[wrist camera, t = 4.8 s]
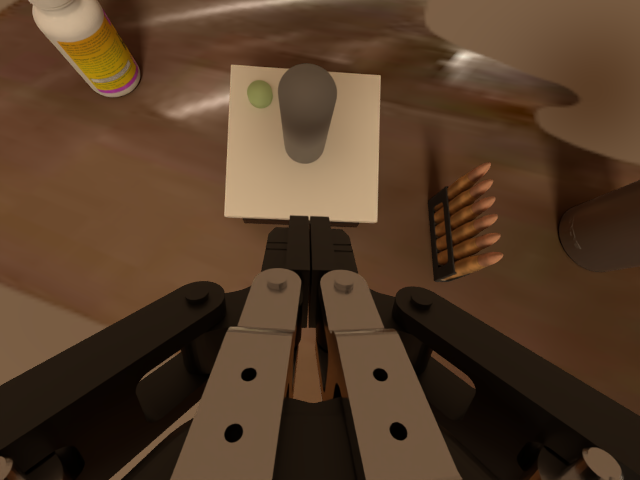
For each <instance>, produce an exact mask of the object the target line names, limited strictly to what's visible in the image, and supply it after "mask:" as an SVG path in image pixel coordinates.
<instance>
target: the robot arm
mask: <svg viewBox="0 0 640 480" xmlns="http://www.w3.org/2000/svg"><path fill="white" fill-rule="evenodd" d="M559 236H560V240H561V243H562V245H563V248H564V250H565V251H566V253H567V254H568V255H569V257H570V258H571V259H572V260H573V261H574V262H576V263H577V264H578V265H580V266H581V267H583V268H585V269H588V270H591V271H595V272H606V271H612V270H619V269H625V268H631V267H639V266H640V180H638V181H636V182H634V183H631V184H629V185H626V186H624V187H621V188H619V189H616V190H614V191H611V192H609V193H607V194H604V195H602V196H599V197H597V198H594V199H592V200H589V201H587V202H584V203H582V204H580V205H577V206H575V207H573V208H570V209H569V210H568V211H567V212H565V214H564V215H563V217H562V219H561V221H560V225H559ZM308 310H309V328H316V342H315V352H316V359H317V367H318V375H319V382H320V390H321V398H322V402H318V403H308V402H304V401H300V400H296V399H293V393H294V384H295V375H296V366H297V358H298V348H299V342H300V340H301V328H307V315H308ZM180 349H181V353H179V354H178V355H176V356H175V357H174V358H172V359H171V360H169V361H168V362H167V363H165V364H164V365H162V366H161V367H159V368H158V369H157V370H155V371H154V372H153V373H151V374H150V375H148V376H147V377H145V378H144V379H143V380H141V378H142V377H143V376H144V375H145V374H146V373H148V372H149V371H150V370H152V369H153V368H155V367H156V366H157V365H159V364H160V363H162V362H163V361H165V360H166V359H167V358H169V357H170V356H172V355H173V354H175V353H176V352H177V351H179V350H180ZM433 350H434V351H435V352H436V353H438V354H439V355H440V356H442V357H443V358H445V359H446V360H447V361H449V362H450V363H451V364H453V365H454V366H455V367H457V368H458V369H459V370H461V371H462V372H464V373H465V374H466V375H467V376H468V377H469V378H470V379H471V380H472V381H473V383H474V385H475V388H476V389H474V388H472V387H471V386H470V385H468V384H467V383H466V382H464V381H463V380H462V379H460V378H459V377H458V376H456V375H455V374H454V373H452V372H451V371H450V370H448V369H447V368H446V367H444V366H443V365H442V364H440V363H439V362H438V361H436V360H435V359H434V358H432V357H431V353H432V351H433ZM140 380H141V381H140ZM139 381H140V382H139ZM200 399H201V401H200V403H199V406H198V408H197V411H196V414H195V416H194V418H192V419H191V420H189V421H188V422H186V423H184V424H183V425H181V426H180V427H179V428H177V429H176V430H175V431H173V432H172V433H171V434H169V435H168V436H167V437H166V438H165V439H164V440H163V441H162V442H161V443H159V444H158V445H157V446H156V447H155V448H154V449H153V450H152V451H151V452H150V453H149V454H148V455H147V456H146V457H145V458H143V459H142V461H140V462H139V463H138V464H137V465H136V466H135V467H134V468H133V469H132V470H131V471H130V472H129V473H128V474H127V475H126V476H124V477H123V478H122V479H121V480H640V416H639V415H637V414H635V413H634V412H632V411H630V410H629V409H627V408H625V407H624V406H622V405H620V404H619V403H617V402H615V401H614V400H612V399H610V398H609V397H607V396H605V395H604V394H602V393H600V392H599V391H597V390H595V389H594V388H592V387H590V386H589V385H587V384H585V383H584V382H582V381H580V380H579V379H577V378H575V377H574V376H572V375H570V374H569V373H567V372H565V371H564V370H562V369H560V368H559V367H557V366H555V365H554V364H552V363H550V362H549V361H547V360H545V359H544V358H542V357H540V356H539V355H537V354H535V353H534V352H532V351H530V350H529V349H527V348H525V347H524V346H522V345H520V344H519V343H517V342H515V341H514V340H512V339H510V338H509V337H507V336H505V335H504V334H502V333H500V332H499V331H497V330H495V329H494V328H492V327H490V326H489V325H487V324H485V323H484V322H482V321H480V320H479V319H477V318H475V317H474V316H472V315H470V314H469V313H467V312H465V311H464V310H462V309H460V308H459V307H457V306H455V305H454V304H452V303H450V302H449V301H447V300H445V299H444V298H442V297H440V296H439V295H437V294H435V293H434V292H432V291H430V290H427V289H424V288H421V287H405V288H402V289H400V290H399V291H398V292H397V294H396V297H393V296H389V295H385V294H381V293H378V292H375V291H373V290H371V289H369V288H368V285H367V283H366V281H365V279H364V278H363V277H362V276H360V275H359V274H358V271H357V267H356V263H355V258H354V254H353V250H352V246H351V242H350V238H349V236H348V235H347V234H346V233H345V232H344V231H343V230H340V229H331V227H330V220H329V217H324V216H310V225H309V216H296V215H290V220H289V228H281V227H275V228H274V229H273V230H272V231H271V232H270V233H269V235H268V240H267V245H266V250H265V255H264V260H263V265H262V270H261V273H259V274H258V275H257V276H256V277H255V278H254V280H253V283H252V285H251V286H250V287H248V288H246V289H243V290H239V291H235V292H230V293H224V290H223V288H222V287H221V286H220V285H218V284H216V283H213V282H208V281H199V282H193V283H190V284H187V285H184V286H182V287H180V288H179V289H177V290H175V291H173V292H171V293H169V294H168V295H166V296H164V297H162V298H160V299H158V300H157V301H155V302H153V303H151V304H149V305H147V306H146V307H144V308H142V309H140V310H138V311H136V312H135V313H133V314H131V315H129V316H127V317H125V318H124V319H122V320H120V321H118V322H116V323H114V324H113V325H111V326H109V327H107V328H105V329H103V330H102V331H100V332H98V333H96V334H94V335H92V336H91V337H89V338H87V339H85V340H83V341H81V342H80V343H78V344H76V345H74V346H72V347H70V348H68V349H67V350H65V351H63V352H61V353H59V354H58V355H56V356H54V357H52V358H50V359H48V360H46V361H45V362H43V363H41V364H39V365H37V366H35V367H34V368H32V369H30V370H28V371H26V372H24V373H23V374H21V375H19V376H17V377H15V378H13V379H12V380H10V381H8V382H6V383H4V384H3V385H1V386H0V480H109V479H110V478H111V477H112V476H114V475H115V474H116V473H117V472H118V471H119V470H120V469H121V468H123V467H124V466H125V465H126V464H127V463H128V462H130V461H131V460H132V459H133V458H134V457H135V456H136V455H137V454H139V453H140V452H141V451H142V450H143V449H144V448H146V447H147V446H148V445H149V444H150V443H151V442H152V441H154V440H155V439H156V438H157V437H158V436H159V435H160V434H162V433H163V432H164V431H165V430H166V429H167V428H168V427H169V426H171V425H172V424H173V423H174V422H175V421H176V420H178V418H180V417H181V416H182V415H183V414H184V413H186V412H187V411H188V410H189V409H190V408H191V407H192V406H194V405H195V404H196V403H197V402H198V401H199V400H200Z"/></svg>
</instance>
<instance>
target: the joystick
mask: <svg viewBox="0 0 640 480" xmlns="http://www.w3.org/2000/svg"><path fill="white" fill-rule="evenodd" d="M380 80H381V75H368V74H354V73H340V72H327V71H326V70H325V69H323V68H322V67H320V66H317V65H314V64H309V63H304V64H299V65H296V66H293V67H292V68H290V69H284V68H270V67H256V66H242V65H231V78H230V101H229V123H228V146H227V168H226V191H225V213H224V216H225V217H230V218H256V219H282V220H290V215H296V216H309V221H310V216H324V217H329V220H330V221H334V222H360V223H376V222H377V208H378V165H379V122H380Z"/></svg>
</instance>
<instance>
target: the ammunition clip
mask: <svg viewBox="0 0 640 480" xmlns="http://www.w3.org/2000/svg"><path fill="white" fill-rule="evenodd" d="M490 165H491V163H490V162H488V163H484V164H481V165H479V166H477V167H476V168H474V169H473V170H472V171H470V172H469V173H467V174H466V175H464V176H462V177H460V178H459V179H458V180H457V181H456V182H454V183H453V184H452V185H451V186H450V187H449V188H448V187H445V188H444V189H442V190H441V191H440V192H439V193H437V194H436V195H435V196H434V197H432V198H431V199H430V200H429V201H428V208H429V221H430V234H431V246H432V259H433V272H434V281H435V282H449V281H452V280H455V279H458V278H460V277H463V276H466V275H469V274H470V273H473V272H476V271H479V270H480V269H482V268H484V267H487V266H489V265H492V264H494V263H496V262H497V261H499V260H500V259H501V258H502V257H503V254H502V253H500V252H490V253H485V254H481V255H475V256H471V255H474V254H476V253H478V252H479V251H480V250H482V249H484V248H486V247H488V246H490V245H492V244H493V243H495V242H496V241H497V240H498V239H499V238H500V236H501V235H500V234H499V233H489V234H485V235H482V236H480V237H476V238H472V237H474V236H476V235H477V234H478V233H479V232H481V231H483V230H484V229H486V228H488V227H489V226H491V225H492V224H493V223H494V222H495V221H496V220H497V218H498V215H496V214H491V215H486V216H483V217H481V218H479V219H476V220H474V219H475V218H476V217H477V216H478V215H480V214H481V213H482V212H484V211H485V210H487V209H488V208H489V207H490V206H491V205H492V204H493V203H494V201H495V197H486V198H483V199H481V200H479V201H477V202H476V203H474V201H475V200H476V199H478V198H479V197H480V196H481V195H483V194H484V193H485V192H486V191H487V190H488V189H489V188H490V186H491V185H492V183H493V180H492V179H488V180H484V181H482V182H480V183H478V184H476V185H475V186H473V185H474V184H475V183H476V182H477V181H478V180H479V179H480V178H482V177H483V176H484V175H485V173H486V172H487V171H488V169H489V168H490ZM472 186H473V187H472ZM471 204H472V205H471ZM472 220H474V221H472ZM471 221H472V222H471ZM470 238H472V239H470Z"/></svg>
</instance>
